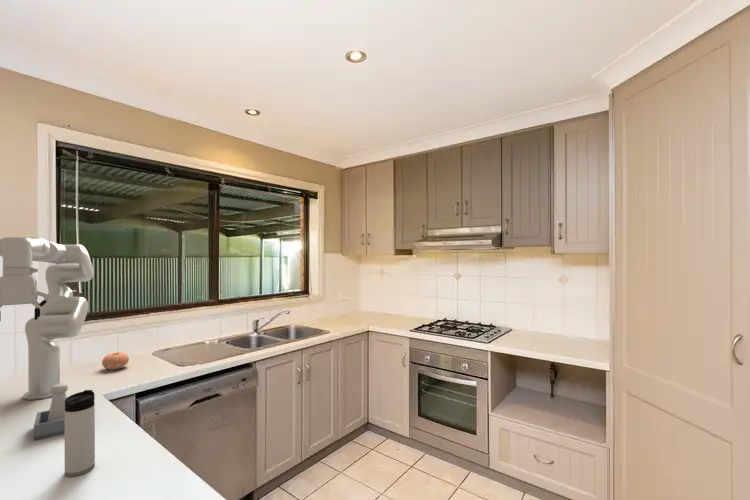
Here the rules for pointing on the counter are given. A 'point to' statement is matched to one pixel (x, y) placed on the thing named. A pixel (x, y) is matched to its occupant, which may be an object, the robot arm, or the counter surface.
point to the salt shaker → (58, 402)
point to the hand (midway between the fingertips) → (17, 320)
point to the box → (47, 426)
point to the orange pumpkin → (115, 361)
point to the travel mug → (79, 433)
